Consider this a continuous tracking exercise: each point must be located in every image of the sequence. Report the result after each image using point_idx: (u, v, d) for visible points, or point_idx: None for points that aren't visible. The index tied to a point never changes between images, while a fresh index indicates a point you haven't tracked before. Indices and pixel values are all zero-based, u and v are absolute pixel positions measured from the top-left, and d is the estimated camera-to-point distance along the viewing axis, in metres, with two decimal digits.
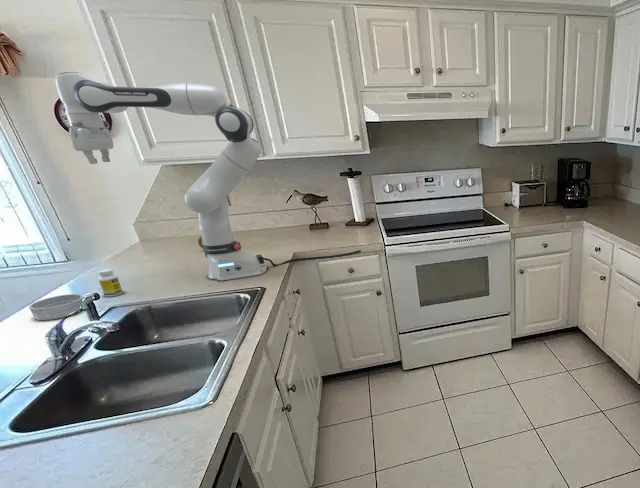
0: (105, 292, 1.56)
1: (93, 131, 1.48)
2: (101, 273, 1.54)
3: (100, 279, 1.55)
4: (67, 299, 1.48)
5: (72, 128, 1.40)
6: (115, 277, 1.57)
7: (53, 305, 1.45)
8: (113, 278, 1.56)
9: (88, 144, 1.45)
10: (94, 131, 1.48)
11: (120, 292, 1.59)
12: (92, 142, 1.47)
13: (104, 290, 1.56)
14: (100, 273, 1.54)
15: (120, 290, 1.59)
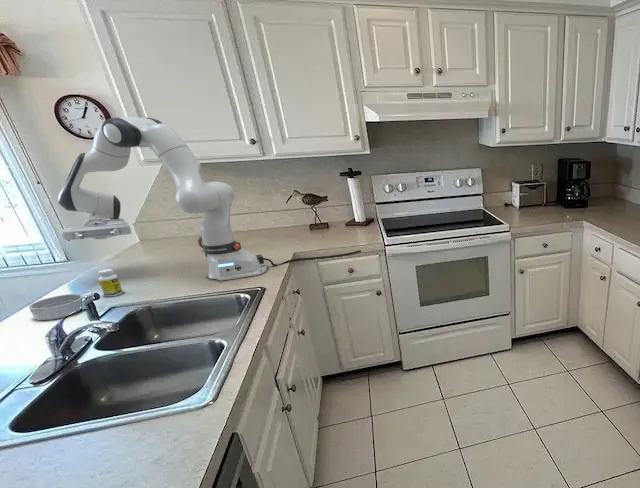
0: (105, 292, 1.56)
1: (89, 225, 1.66)
2: (101, 273, 1.54)
3: (100, 279, 1.55)
4: (67, 299, 1.48)
5: None
6: (115, 277, 1.57)
7: (53, 305, 1.45)
8: (113, 278, 1.56)
9: (70, 229, 1.60)
10: None
11: (120, 292, 1.59)
12: (80, 228, 1.62)
13: (104, 290, 1.56)
14: (100, 273, 1.54)
15: (120, 290, 1.59)
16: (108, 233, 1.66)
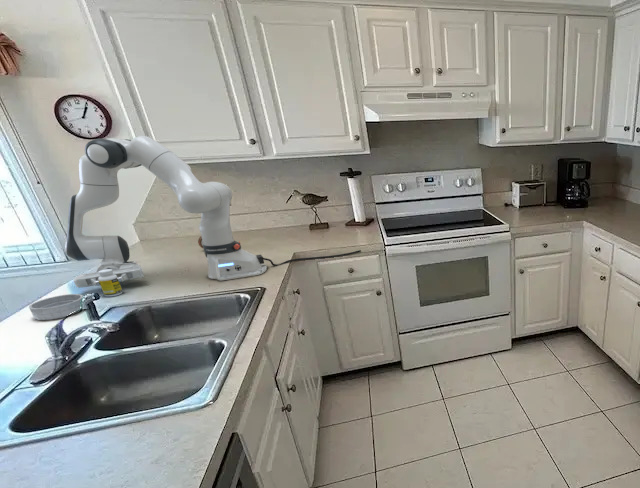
0: (105, 292, 1.56)
1: None
2: (101, 273, 1.54)
3: (100, 279, 1.55)
4: (67, 299, 1.48)
5: None
6: (115, 277, 1.57)
7: (53, 305, 1.45)
8: (113, 278, 1.56)
9: (82, 276, 1.57)
10: (102, 269, 1.63)
11: (120, 292, 1.59)
12: (92, 275, 1.59)
13: (104, 290, 1.56)
14: (100, 273, 1.54)
15: (120, 290, 1.59)
16: None
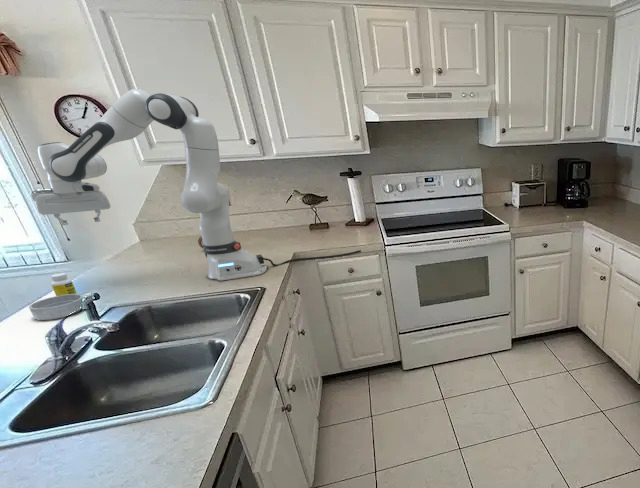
0: None
1: (61, 196, 1.56)
2: (54, 277, 1.50)
3: (53, 284, 1.50)
4: (67, 299, 1.48)
5: (31, 195, 1.52)
6: (69, 281, 1.53)
7: (53, 305, 1.45)
8: (67, 283, 1.52)
9: (47, 209, 1.54)
10: (62, 196, 1.56)
11: None
12: (57, 206, 1.56)
13: (57, 295, 1.52)
14: (53, 277, 1.50)
15: None
16: None
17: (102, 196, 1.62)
